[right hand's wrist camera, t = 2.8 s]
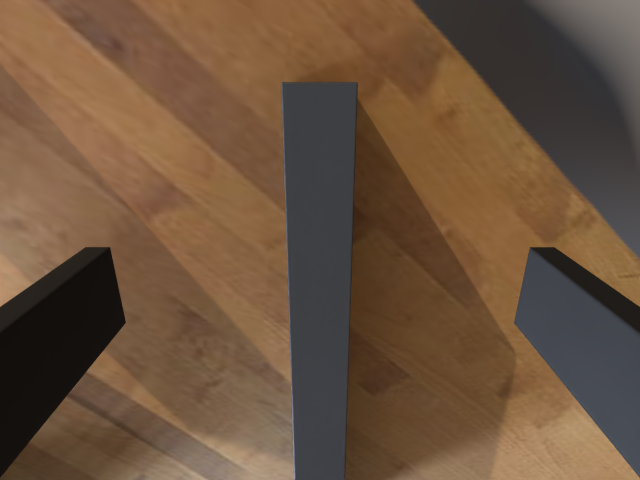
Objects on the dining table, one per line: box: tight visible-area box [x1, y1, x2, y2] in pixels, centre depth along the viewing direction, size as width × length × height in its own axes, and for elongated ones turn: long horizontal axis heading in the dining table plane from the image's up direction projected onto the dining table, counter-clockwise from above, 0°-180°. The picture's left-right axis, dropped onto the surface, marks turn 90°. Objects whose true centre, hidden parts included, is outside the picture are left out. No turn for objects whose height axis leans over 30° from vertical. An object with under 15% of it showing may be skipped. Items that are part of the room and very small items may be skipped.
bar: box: [282, 82, 358, 480], centre depth 40 cm, size 53×5×9 cm, turn 0°
